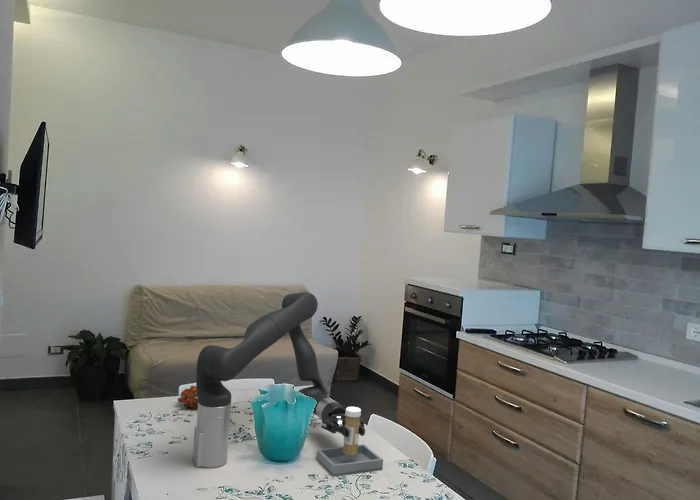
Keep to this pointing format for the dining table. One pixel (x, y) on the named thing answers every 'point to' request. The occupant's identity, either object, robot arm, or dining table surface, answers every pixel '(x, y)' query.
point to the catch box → (349, 461)
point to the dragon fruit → (189, 398)
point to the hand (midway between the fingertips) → (355, 433)
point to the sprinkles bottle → (352, 430)
